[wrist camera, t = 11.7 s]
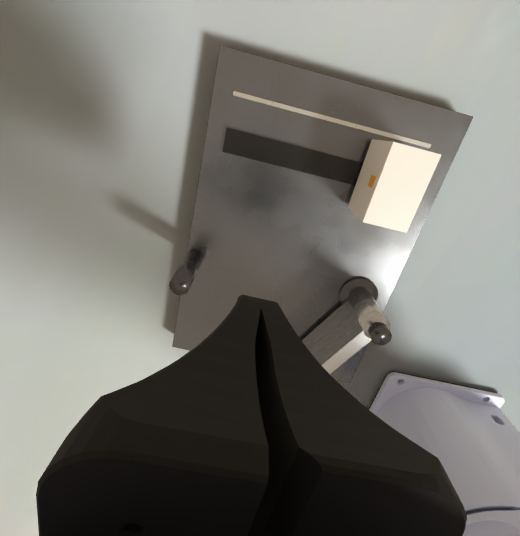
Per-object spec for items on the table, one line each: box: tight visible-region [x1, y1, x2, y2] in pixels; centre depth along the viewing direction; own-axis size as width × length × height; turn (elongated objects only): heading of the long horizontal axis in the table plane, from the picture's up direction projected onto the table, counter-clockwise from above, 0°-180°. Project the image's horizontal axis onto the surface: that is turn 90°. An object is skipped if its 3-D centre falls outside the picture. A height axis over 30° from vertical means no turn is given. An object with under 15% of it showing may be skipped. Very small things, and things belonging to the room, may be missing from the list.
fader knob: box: [348, 139, 441, 233], centre depth 16 cm, size 2×4×3 cm, turn 166°
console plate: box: [169, 45, 473, 383], centre depth 18 cm, size 13×18×6 cm
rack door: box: [302, 287, 390, 374], centre depth 20 cm, size 10×1×3 cm, turn 139°
